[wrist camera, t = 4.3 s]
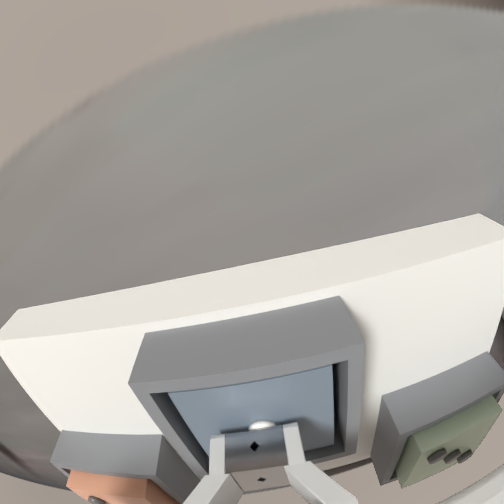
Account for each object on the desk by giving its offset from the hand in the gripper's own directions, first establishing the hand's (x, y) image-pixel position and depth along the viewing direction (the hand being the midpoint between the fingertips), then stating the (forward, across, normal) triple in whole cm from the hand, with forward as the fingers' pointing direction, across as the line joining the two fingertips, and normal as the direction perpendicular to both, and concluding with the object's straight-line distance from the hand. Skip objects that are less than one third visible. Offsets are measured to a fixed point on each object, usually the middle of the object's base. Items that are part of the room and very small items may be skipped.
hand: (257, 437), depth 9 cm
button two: (+1, +9, +6) cm, 11 cm away
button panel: (+6, 0, +3) cm, 6 cm away
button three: (+1, -9, +6) cm, 11 cm away
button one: (+2, 0, 0) cm, 2 cm away
